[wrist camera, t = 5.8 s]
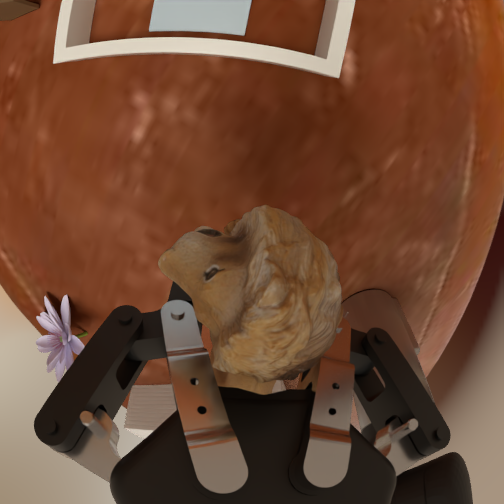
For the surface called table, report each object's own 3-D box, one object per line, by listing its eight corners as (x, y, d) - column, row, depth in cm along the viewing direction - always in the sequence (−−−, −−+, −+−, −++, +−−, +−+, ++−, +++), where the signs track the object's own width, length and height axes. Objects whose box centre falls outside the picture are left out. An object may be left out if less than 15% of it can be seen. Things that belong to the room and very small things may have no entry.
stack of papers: (156, 403, 59) (151, 442, 50) (131, 384, 52) (123, 428, 44) (287, 392, 55) (292, 437, 46) (279, 371, 48) (284, 424, 40)
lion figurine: (195, 144, 11) (114, 301, 4) (318, 149, 12) (421, 302, 4) (212, 348, 20) (204, 464, 13) (283, 348, 20) (293, 463, 13)
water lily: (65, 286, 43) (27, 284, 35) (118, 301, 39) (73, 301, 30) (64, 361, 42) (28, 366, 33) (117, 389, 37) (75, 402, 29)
